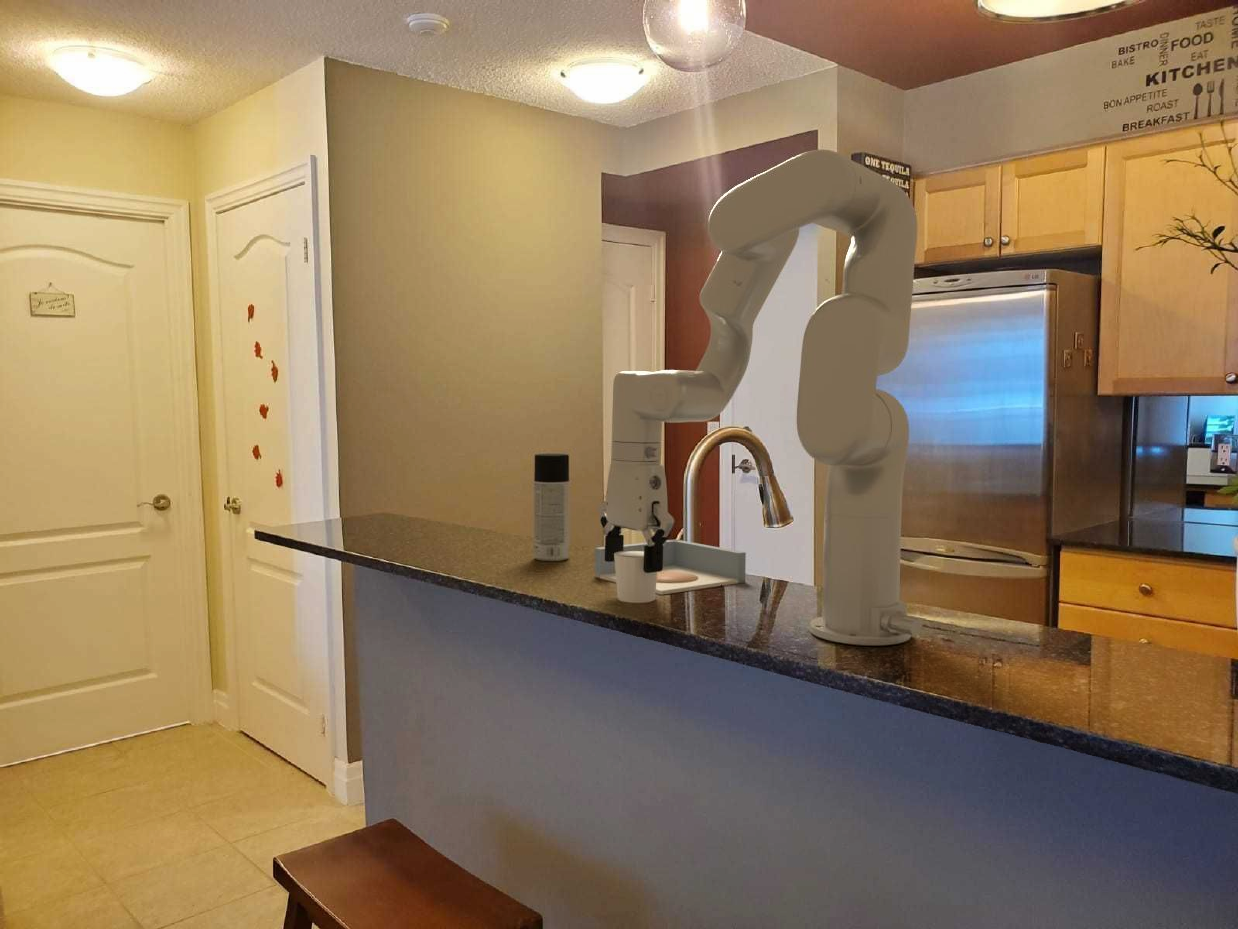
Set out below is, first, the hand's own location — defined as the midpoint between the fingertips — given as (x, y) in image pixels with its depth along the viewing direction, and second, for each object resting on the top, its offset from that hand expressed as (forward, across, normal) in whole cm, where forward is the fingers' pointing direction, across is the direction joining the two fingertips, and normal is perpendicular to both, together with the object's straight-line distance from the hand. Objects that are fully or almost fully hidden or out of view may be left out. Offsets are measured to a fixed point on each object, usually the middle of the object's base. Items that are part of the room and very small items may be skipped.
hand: (632, 566), depth 139 cm
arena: (+5, +8, -14) cm, 17 cm away
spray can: (+6, +37, -9) cm, 39 cm away
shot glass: (+5, -1, 0) cm, 5 cm away
